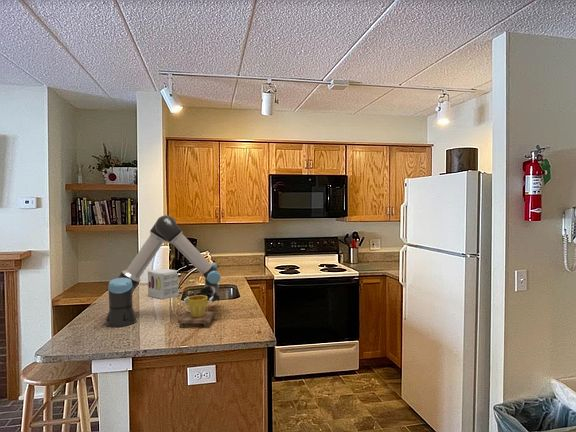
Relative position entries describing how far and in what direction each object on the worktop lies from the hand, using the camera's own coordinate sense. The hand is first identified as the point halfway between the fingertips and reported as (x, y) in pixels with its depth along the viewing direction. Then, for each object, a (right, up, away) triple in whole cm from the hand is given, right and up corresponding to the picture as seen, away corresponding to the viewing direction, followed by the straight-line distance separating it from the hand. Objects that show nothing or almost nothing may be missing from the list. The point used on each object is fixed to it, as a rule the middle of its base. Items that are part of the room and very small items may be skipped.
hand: (197, 301), depth 203 cm
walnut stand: (0, -12, +1) cm, 12 cm away
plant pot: (0, -8, +1) cm, 8 cm away
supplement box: (-39, -11, +64) cm, 75 cm away
